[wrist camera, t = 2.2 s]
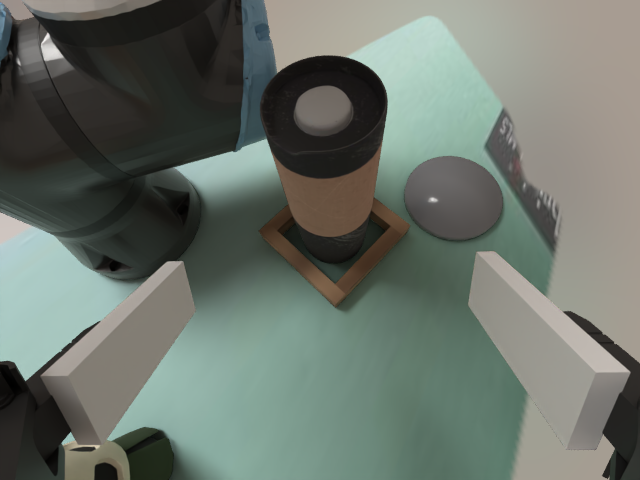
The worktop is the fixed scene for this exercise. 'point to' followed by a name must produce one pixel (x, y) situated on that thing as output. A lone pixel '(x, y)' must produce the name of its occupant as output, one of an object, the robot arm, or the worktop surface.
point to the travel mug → (327, 148)
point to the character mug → (121, 458)
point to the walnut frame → (357, 272)
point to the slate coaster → (453, 198)
